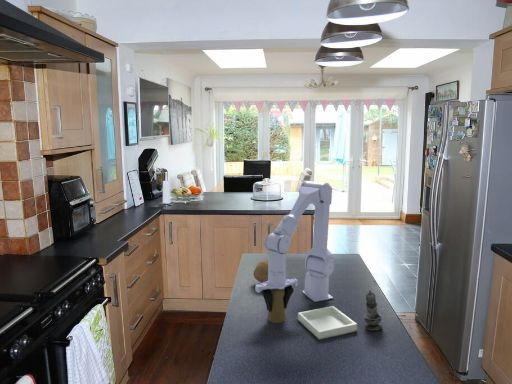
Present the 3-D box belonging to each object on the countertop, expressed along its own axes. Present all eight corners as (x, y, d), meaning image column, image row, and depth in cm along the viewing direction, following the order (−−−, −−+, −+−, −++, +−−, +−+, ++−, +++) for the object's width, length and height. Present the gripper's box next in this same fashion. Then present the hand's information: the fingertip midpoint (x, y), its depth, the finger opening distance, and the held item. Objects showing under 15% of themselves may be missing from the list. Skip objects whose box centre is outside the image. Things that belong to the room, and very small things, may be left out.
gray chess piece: (365, 322, 131) (361, 286, 130) (384, 323, 129) (380, 287, 128) (362, 330, 126) (359, 293, 125) (382, 331, 123) (378, 293, 122)
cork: (264, 316, 135) (264, 285, 133) (280, 313, 137) (280, 282, 135) (272, 324, 129) (272, 292, 127) (288, 320, 132) (289, 289, 130)
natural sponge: (278, 287, 158) (279, 263, 157) (257, 289, 156) (257, 265, 155) (273, 279, 167) (273, 256, 165) (252, 281, 165) (252, 257, 163)
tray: (297, 319, 132) (297, 312, 132) (332, 312, 138) (333, 305, 137) (319, 339, 120) (319, 332, 120) (356, 331, 125) (357, 323, 125)
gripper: (261, 277, 124) (261, 318, 126) (302, 270, 129) (301, 310, 132) (252, 269, 130) (252, 308, 133) (292, 263, 136) (292, 301, 138)
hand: (276, 309), depth 133 cm, fingers closed on cork, 5 cm apart
